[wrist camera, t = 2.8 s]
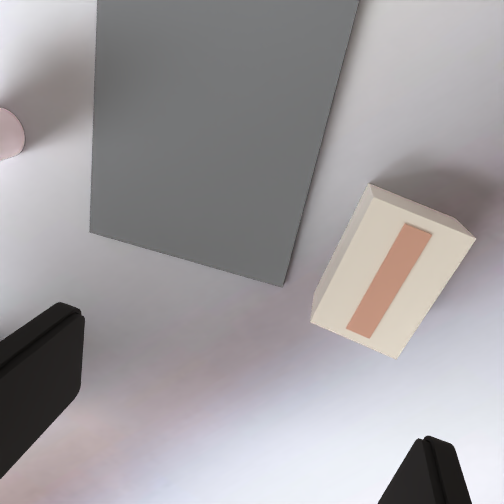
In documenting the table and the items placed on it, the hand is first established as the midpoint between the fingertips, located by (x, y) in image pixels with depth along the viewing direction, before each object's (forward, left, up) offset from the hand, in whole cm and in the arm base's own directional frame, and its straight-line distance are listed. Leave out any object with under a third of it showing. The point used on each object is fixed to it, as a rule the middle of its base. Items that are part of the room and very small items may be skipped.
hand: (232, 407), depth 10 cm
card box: (-1, -6, -19) cm, 20 cm away
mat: (+5, +8, -18) cm, 21 cm away
